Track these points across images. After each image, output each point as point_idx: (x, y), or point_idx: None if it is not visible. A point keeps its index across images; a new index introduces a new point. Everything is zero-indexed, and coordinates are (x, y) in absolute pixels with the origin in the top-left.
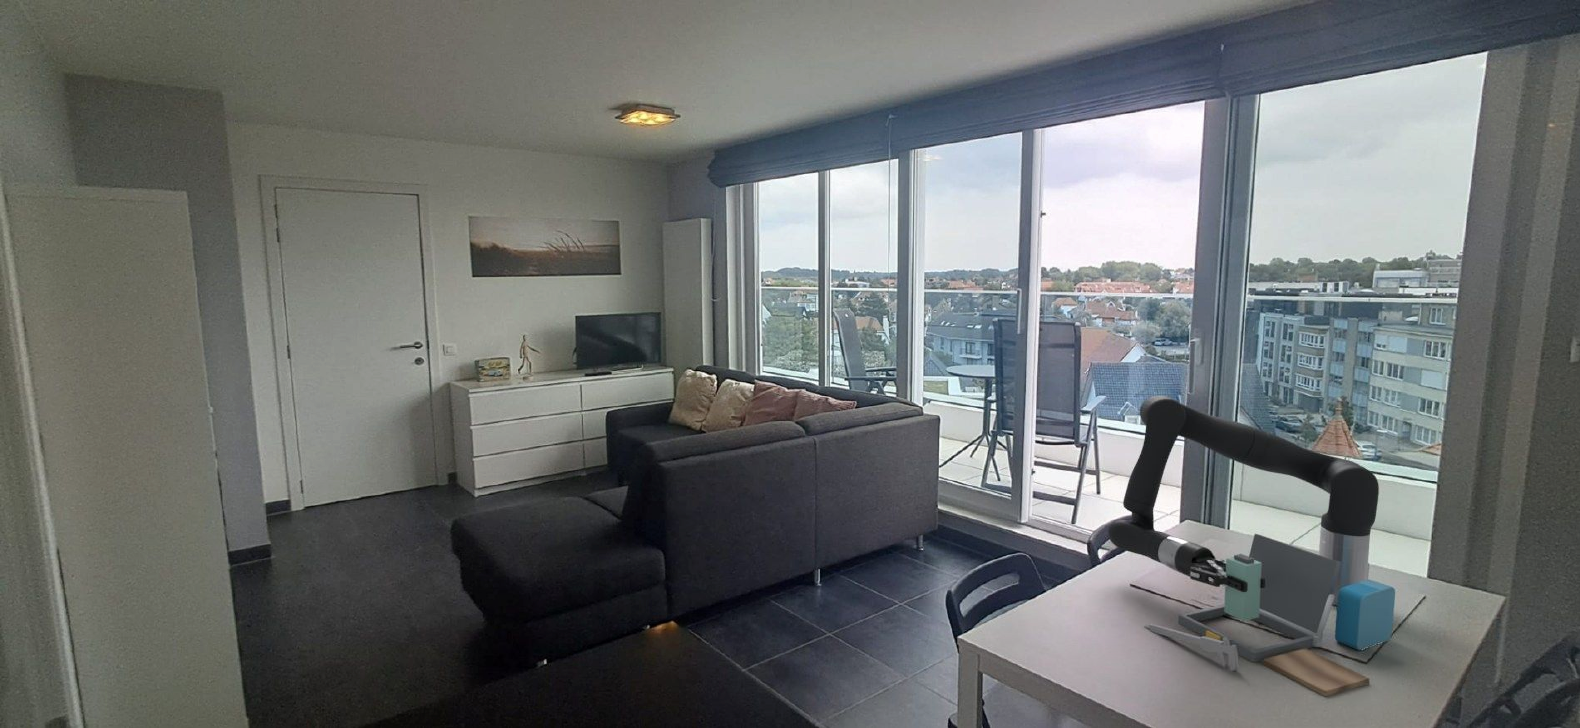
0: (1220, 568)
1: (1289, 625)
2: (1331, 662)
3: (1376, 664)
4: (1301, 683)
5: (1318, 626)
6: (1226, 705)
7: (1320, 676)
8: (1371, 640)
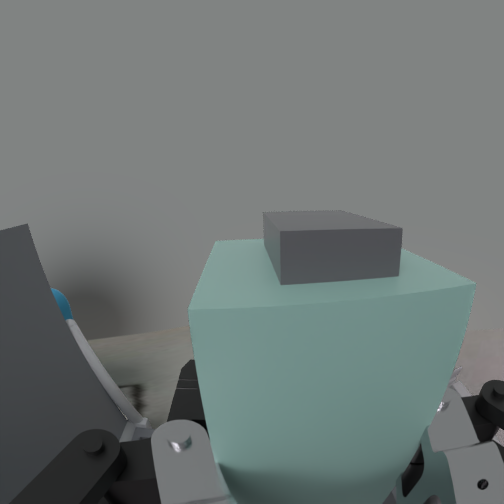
0: (464, 454)
1: None
2: None
3: (128, 378)
4: None
5: (115, 409)
6: (463, 341)
7: None
8: None
